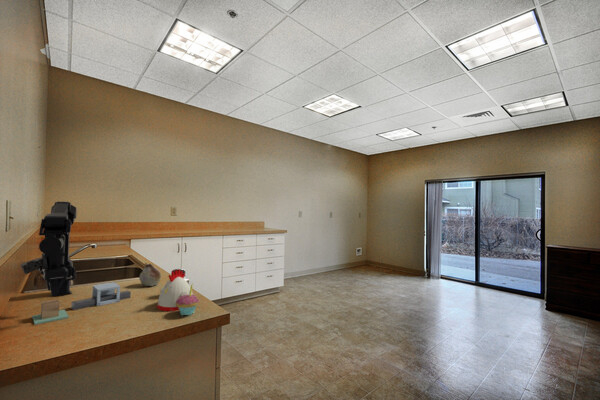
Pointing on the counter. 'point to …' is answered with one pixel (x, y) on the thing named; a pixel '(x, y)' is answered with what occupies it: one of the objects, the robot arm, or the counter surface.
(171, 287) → the kitchen timer
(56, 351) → the counter surface
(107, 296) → the bar
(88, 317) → the counter surface
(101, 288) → the tunnel
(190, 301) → the cupcake
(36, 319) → the coaster
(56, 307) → the block
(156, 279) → the grey rounded lump
